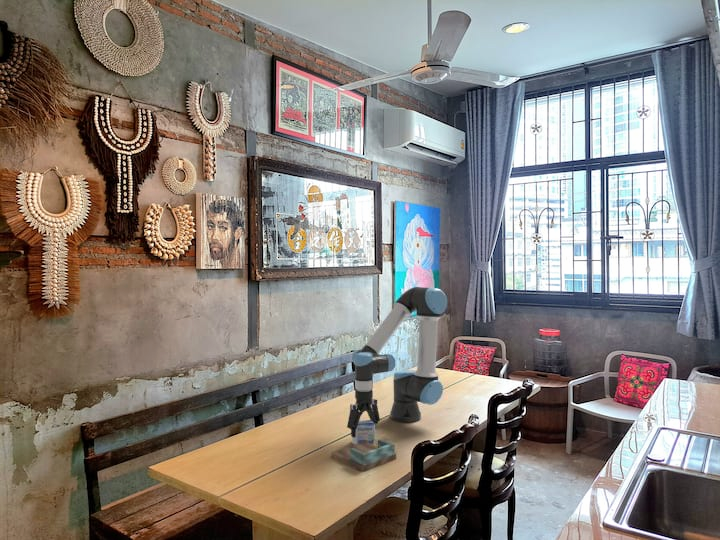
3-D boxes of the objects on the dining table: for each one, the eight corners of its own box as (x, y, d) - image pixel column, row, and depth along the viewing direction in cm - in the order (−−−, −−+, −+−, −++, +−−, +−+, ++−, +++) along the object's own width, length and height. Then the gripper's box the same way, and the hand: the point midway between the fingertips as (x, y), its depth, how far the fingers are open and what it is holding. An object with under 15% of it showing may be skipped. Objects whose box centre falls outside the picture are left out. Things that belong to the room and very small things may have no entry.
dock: (365, 445, 210) (365, 431, 210) (396, 458, 197) (396, 443, 197) (331, 457, 198) (331, 442, 198) (362, 471, 185) (362, 455, 185)
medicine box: (356, 444, 212) (356, 424, 212) (353, 440, 216) (353, 420, 216) (374, 442, 214) (374, 422, 214) (371, 439, 218) (371, 419, 218)
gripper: (376, 383, 225) (376, 432, 226) (338, 392, 210) (338, 445, 211) (388, 386, 219) (388, 437, 220) (350, 395, 204) (350, 450, 205)
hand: (363, 441), depth 215 cm, fingers open, 10 cm apart
